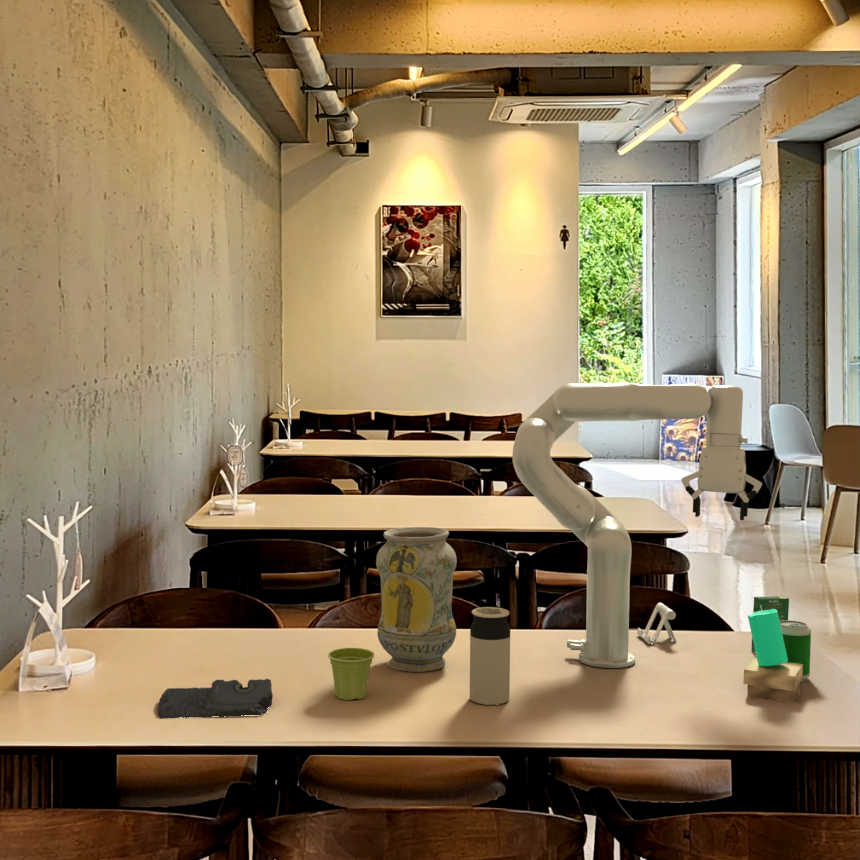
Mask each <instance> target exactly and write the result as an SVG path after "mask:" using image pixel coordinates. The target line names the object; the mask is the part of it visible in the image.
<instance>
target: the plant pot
mask: <svg viewBox="0 0 860 860" xmlns="http://www.w3.org/2000/svg"><path fill="white" fill-rule="evenodd" d="M327 657H328V658H329V661H330V662H329V663H330V665H331V670H332V676H333V678H332V679H333V686H334V693H335V697H337V698H338V699H340V700H343V701H344V700H345V701H353V700H355V699H356V700H361V698H362V699H363V698H365V697H366V696H367V689H368V684H369V683H368V681H369V675H370V669H371V665H372V662H373V659H374V657H375V653H374V651H372V650H370V649H365V648H360V647H345V648H344V647H343V648H337V649H333V650H331V651H329V652H327Z"/></svg>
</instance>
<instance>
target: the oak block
mask: <svg viewBox="0 0 860 860" xmlns="http://www.w3.org/2000/svg"><path fill="white" fill-rule="evenodd" d="M750 660H751V661H749V663H748V664H747V665H746V667H745V668H744V669H743V685H747V686H748V685H755V686H761V687H768V688H775V689H782V690H789V691H795V690H796V688H797V686H798V685H799V683H800V684H801V683H802V682H801V680H802V677H803V664H798V663H790V662H786V663H783V664H779V665H773V666H759V665H758V661H757V657H753V658H752V659H750Z"/></svg>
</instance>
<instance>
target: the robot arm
mask: <svg viewBox="0 0 860 860" xmlns="http://www.w3.org/2000/svg"><path fill="white" fill-rule="evenodd" d="M743 396H744V392H743V389H742V388H741V387H740V386H737V385H736V386H735V385H720V384H718V385H712V386H710V385H702V384H697V383H683V384H669V385H668V384H664V385H663V384H660V385H659V384H658V385H657V384H655V385H654V384H643V383H642V384H640V383H635V382H604V383H603V382H602V383H601V382H598V383H574V382H573V383H565V384H562V385H560V386H559V387H557V389H556V390H555V391H554V392H553V393H552V394H551V395H550V396H549V397H548V398H547V399H546V400H545V401H544V402H543V403H542V404H541V405H540V406H539V407H538V408H536V409H535V410H534V411H533V412H532V414H530V415H528V417H527V418H525V420H524V421H523V422H522V423H521V424H520V425H519V427H518V429H517V432H516V434H515V439H514V443H513V446H512V453H511V454H512V465H513V468H514V470H515V473H516V476H517V478H518V479H519V480H520V482H521V483H522V485H524V487H525V488H526V489H527V490H528V491H529V492H530V493H531V495H533V496H534V497H535V498H536V500H538V501H539V502H540V504H541V505H542V506H543V507H544V508H545V509H546V510H548V512H549V513H551V515H552V516H553V517H554V519H556V521H557V522H558V523H559V524H560V525H561V527H564V528H565V529H568V530H570V531H571V532H572V533H573V534H574V535H575V536H576V537H577V538H578V539H579V540H580V541H581V542H582V543H584V545H585V546H586V547H587V569H586V615H585V617H586V622H585V625H586V626H585V628H586V630H585V632H586V633H585V639H581V640H576V639H567V641H566V648H567V649H570V651H580V653H579V654H578V661H579V662H581V663H582V664H584V665H587V666H590V667H595V668H601V669H602V668H603V669H619V668H620V669H622V668H627V667H630V666H632V665H634V664H635V663H636V657H635V655H633V654H632V653H630V652H629V636H630V635H629V631H630V630H629V627H630V626H629V625H630V624H629V623H630V579H631V565H632V564H631V563H632V552H633V551H632V542H631V541H632V540H631V537H630V534H629V533H628V531H627V530H626V528H625V526H624V525H623V524H622V523H621V521H620V520H619V519H618V518H617V517H616V516H615V515H613V514H612V512H611V511H609V510H608V509H607V508H606V506H604V505H603V504H602V503H601V502H600V501H599V500H598V499H597V498H596V497H595V496H594V495H593V494H592V493H591V492H590V491H589V490H588V489H586V488H585V487H583V486H582V485H579V484H576V483H575V482H574V481H573V480H572V478H571V479H570V477H569V476H568V475H567V474H566V473H565V472H564V471H563V470H562V469H561V468H560V467H559V466H558V465H557V464H556V463H555V461H553V458H552V457H551V450H552V448H553V445H554V443H555V442H556V441H558V440H559V438H560V437H562V436H563V435H564V434H565V433H566V432H567V431H568V430H569V429H570V428H571V427H572V426H573V425H574V424H575V423H577V422H578V423H579V422H610V421H611V422H620V421H621V422H634V421H635V422H637V421H649V420H650V421H651V420H653V421H654V420H659V421H660V420H661V421H662V420H696V419H700V418H702V417H704V416H706V428H705V429H706V430H705V445H704V446H703V445H702V447H701V452H700V457H699V461H698V470H697V471H695V472H693V473H690V474H688V475H685V476H683V477H682V478H681V483H682V485H683V487H684V489H685V491H686V493H687V494H688V495H690V497H691V498H692V501H693V502H692V513H694V516H695V518H699V517H700V516H701V500H702V499H701V498H700V495H701V494H703V492H711V493H722V494H723V493H725V494H737V495H738V496H739V497H740V499H741V501H740V506H739V507H740V508H739V509H740V510H739V511H740V512H739V520H740V521H744V520H745V517H748V511H749V510H748V509H749V507H748V506H749V502H750V501H751V500H752V499H753V498H754V497H756V496H757V494H758V492H759V491H760V490H761V488H762V486H763V482H761V481H759V480H758V479H756V478H754V477H752V476H751V475H749V474H747V471H746V470H747V463H746V462H747V461H746V451H745V448H744V447H741V445H743V444H748V441H749V438H748V437H746V436H743V435H742V425H743V423H742V422H743V404H744V403H743V402H744V397H743ZM694 479H697V489H696V490H695V489H694V488H693V487H692V485H691V483H690V482H691V481H693V480H694ZM746 483H749V484H750V485H753V488H752V489H751V491H750V492H749V493H748V494H747V492H746V491H745V489H746V485H747V484H746Z"/></svg>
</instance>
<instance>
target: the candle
mask: <svg viewBox="0 0 860 860" xmlns="http://www.w3.org/2000/svg"><path fill="white" fill-rule="evenodd" d="M760 606H761V605H760ZM761 610H762V607H761ZM747 619H748V624H749V628H750V629H749V630H750V633H751V639H752V638H753V643H754V647H755V652H756V653H755V656H756V657H755V658H757V661H758V665H759V666H773V665H779V664H783V663H786V662H787V661H788V658H787V653H786V649H785V644H784V640H783V635H782V630H781V626H780V621H779V617H778V612H777V610H775V609H770V610H762V611H757V612H752V613H751V614H748V615H747Z"/></svg>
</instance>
